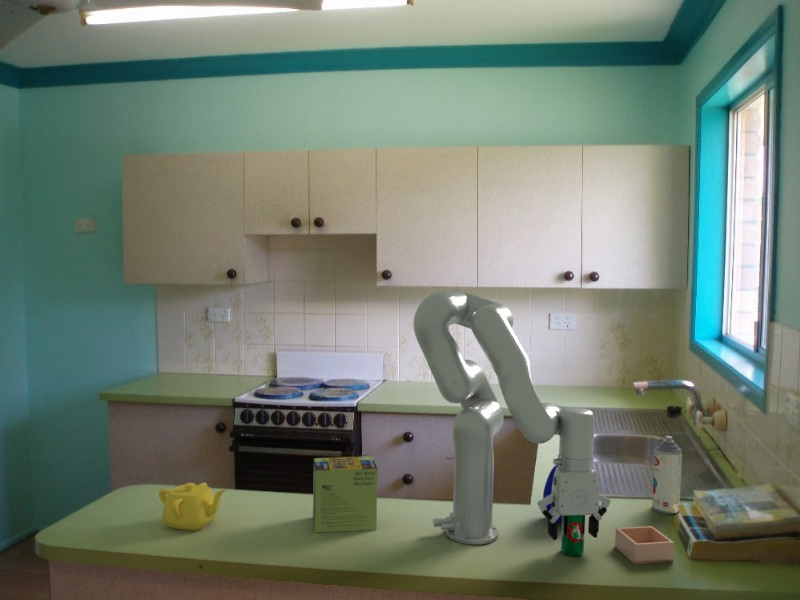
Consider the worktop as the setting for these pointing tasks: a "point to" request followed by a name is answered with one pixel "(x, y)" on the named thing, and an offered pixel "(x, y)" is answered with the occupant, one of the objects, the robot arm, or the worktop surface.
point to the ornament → (550, 490)
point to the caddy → (644, 545)
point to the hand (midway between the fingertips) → (572, 536)
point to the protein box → (344, 494)
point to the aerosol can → (666, 476)
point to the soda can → (573, 535)
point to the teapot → (189, 506)
